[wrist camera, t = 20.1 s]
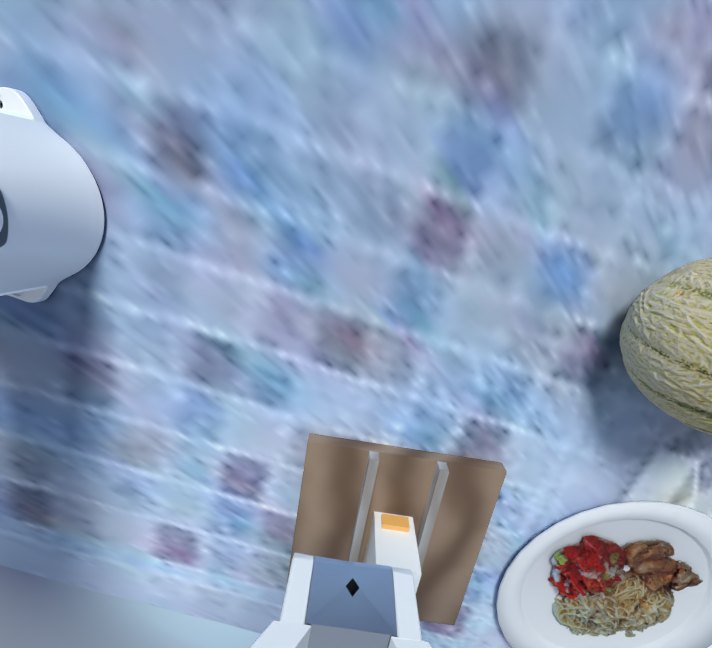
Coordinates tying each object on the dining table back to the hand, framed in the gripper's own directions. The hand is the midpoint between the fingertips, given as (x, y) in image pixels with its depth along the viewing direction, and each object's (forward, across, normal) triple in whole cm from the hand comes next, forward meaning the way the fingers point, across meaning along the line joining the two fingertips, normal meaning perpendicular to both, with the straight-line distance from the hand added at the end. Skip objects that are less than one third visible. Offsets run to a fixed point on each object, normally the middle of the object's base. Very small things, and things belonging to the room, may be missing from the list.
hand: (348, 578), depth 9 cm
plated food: (+30, -38, +32) cm, 58 cm away
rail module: (+28, -8, +28) cm, 40 cm away
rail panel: (+29, -8, +28) cm, 41 cm away
